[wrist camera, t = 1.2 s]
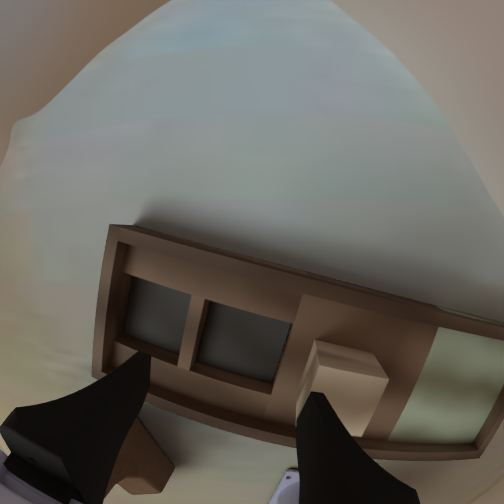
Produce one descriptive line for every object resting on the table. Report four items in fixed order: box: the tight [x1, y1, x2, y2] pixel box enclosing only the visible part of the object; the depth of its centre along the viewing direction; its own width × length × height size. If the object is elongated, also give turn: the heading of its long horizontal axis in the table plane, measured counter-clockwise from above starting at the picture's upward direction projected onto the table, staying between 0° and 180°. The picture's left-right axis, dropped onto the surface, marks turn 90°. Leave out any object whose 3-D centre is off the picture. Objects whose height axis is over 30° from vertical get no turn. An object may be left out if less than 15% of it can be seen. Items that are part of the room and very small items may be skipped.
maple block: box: [296, 340, 389, 437], centre depth 18 cm, size 4×4×4 cm
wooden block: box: [104, 417, 174, 498], centre depth 17 cm, size 9×4×18 cm, turn 28°
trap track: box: [92, 224, 504, 461], centre depth 21 cm, size 13×37×4 cm, turn 76°
